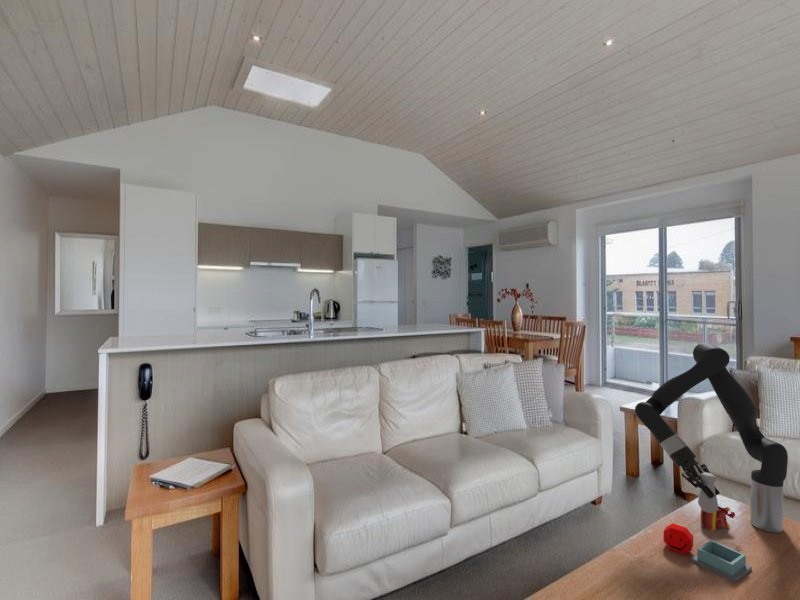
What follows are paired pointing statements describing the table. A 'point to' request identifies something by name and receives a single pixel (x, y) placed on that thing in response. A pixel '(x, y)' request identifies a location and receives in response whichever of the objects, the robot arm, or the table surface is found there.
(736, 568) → the stand
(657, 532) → the table surface
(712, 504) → the salt shaker
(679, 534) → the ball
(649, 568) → the table surface
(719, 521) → the book monster
